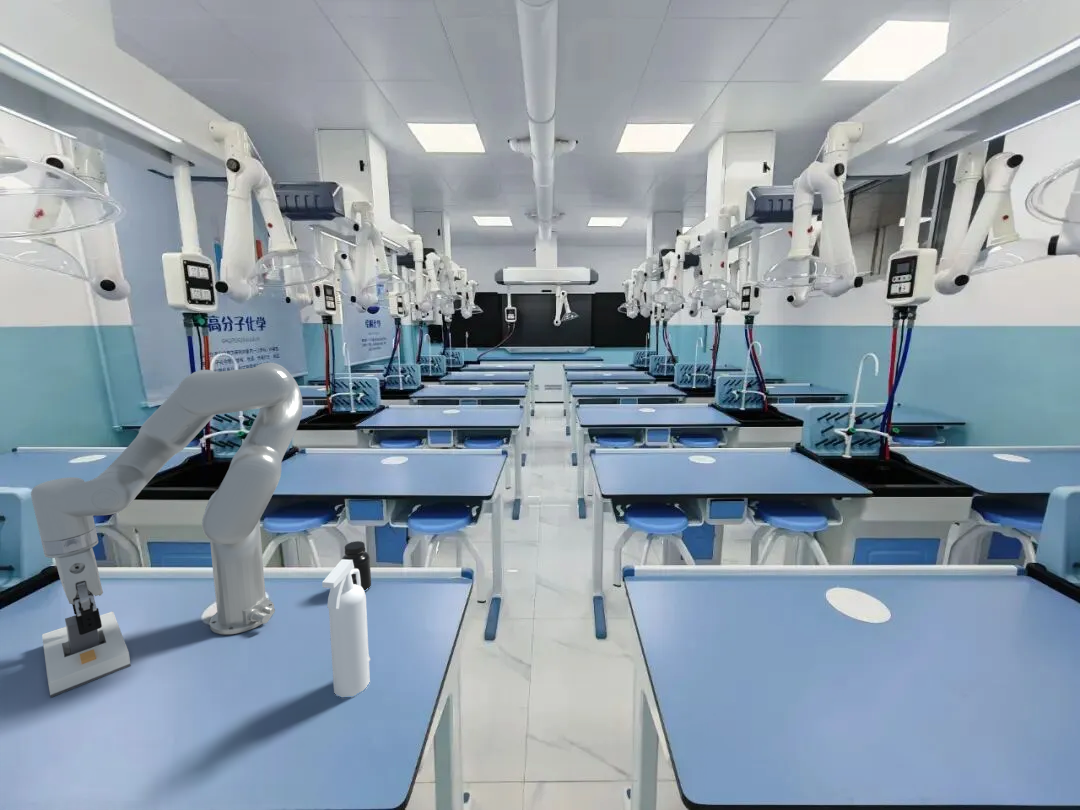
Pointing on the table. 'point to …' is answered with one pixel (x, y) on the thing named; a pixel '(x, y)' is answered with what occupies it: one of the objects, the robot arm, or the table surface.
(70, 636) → the block
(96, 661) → the switch panel
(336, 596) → the white spray bottle
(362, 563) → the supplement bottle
